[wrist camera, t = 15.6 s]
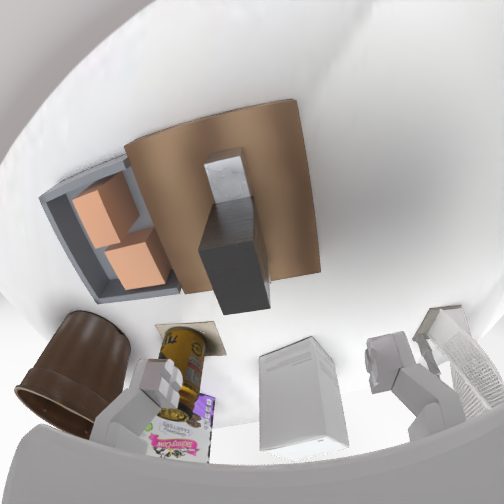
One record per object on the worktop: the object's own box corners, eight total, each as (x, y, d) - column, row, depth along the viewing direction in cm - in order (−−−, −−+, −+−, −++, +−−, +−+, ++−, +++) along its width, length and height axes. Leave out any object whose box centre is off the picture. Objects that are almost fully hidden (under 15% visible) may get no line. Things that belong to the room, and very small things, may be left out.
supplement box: (256, 356, 40) (256, 451, 27) (312, 334, 37) (327, 436, 24) (285, 380, 44) (291, 462, 31) (335, 362, 41) (351, 448, 28)
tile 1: (154, 226, 27) (145, 242, 25) (172, 265, 30) (165, 283, 27) (115, 236, 28) (104, 252, 25) (134, 272, 30) (125, 290, 28)
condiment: (155, 324, 36) (132, 399, 26) (213, 320, 35) (202, 404, 25) (173, 355, 40) (158, 424, 30) (226, 353, 39) (220, 427, 29)
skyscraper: (433, 301, 34) (506, 475, 10) (469, 298, 34) (541, 446, 10) (412, 339, 38) (462, 495, 15) (447, 334, 38) (500, 472, 15)
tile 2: (97, 190, 19) (71, 200, 20) (120, 242, 22) (95, 248, 23) (122, 170, 24) (98, 179, 24) (139, 215, 26) (116, 222, 27)
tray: (140, 148, 23) (122, 160, 20) (187, 269, 31) (179, 293, 27) (59, 182, 25) (38, 197, 21) (109, 282, 32) (97, 304, 29)
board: (291, 98, 21) (296, 100, 18) (315, 254, 29) (320, 272, 27) (137, 138, 23) (123, 146, 20) (190, 276, 31) (184, 294, 29)
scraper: (245, 145, 20) (238, 186, 13) (272, 261, 26) (278, 337, 19) (207, 154, 21) (179, 200, 13) (240, 267, 27) (235, 343, 19)
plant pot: (139, 313, 35) (102, 420, 22) (149, 374, 44) (130, 455, 30) (45, 289, 34) (-5, 372, 20) (71, 352, 42) (42, 422, 29)
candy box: (216, 397, 48) (209, 477, 34) (203, 406, 50) (195, 479, 37) (147, 372, 44) (127, 456, 30) (139, 383, 46) (120, 459, 33)
